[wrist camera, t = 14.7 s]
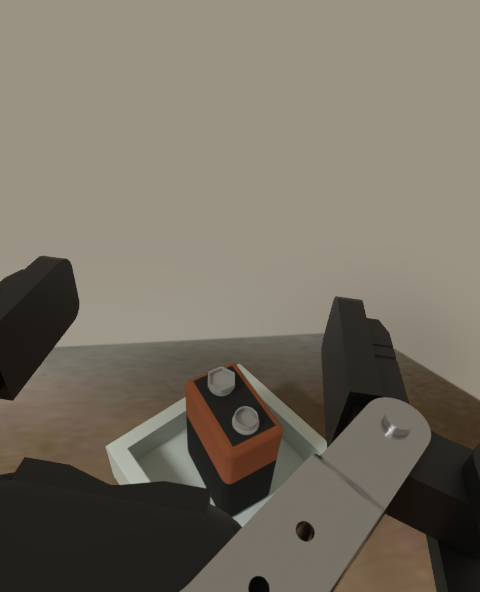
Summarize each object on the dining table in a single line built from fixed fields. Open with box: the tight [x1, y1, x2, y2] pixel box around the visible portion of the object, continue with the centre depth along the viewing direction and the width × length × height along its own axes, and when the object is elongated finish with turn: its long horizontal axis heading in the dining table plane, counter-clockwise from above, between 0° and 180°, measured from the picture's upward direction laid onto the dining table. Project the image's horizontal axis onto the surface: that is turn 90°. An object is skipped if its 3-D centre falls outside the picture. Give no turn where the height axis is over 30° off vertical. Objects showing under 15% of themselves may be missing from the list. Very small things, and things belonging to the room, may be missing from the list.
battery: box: [185, 364, 283, 517], centre depth 29 cm, size 4×7×10 cm, turn 30°
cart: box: [106, 364, 327, 527], centre depth 33 cm, size 14×13×8 cm
